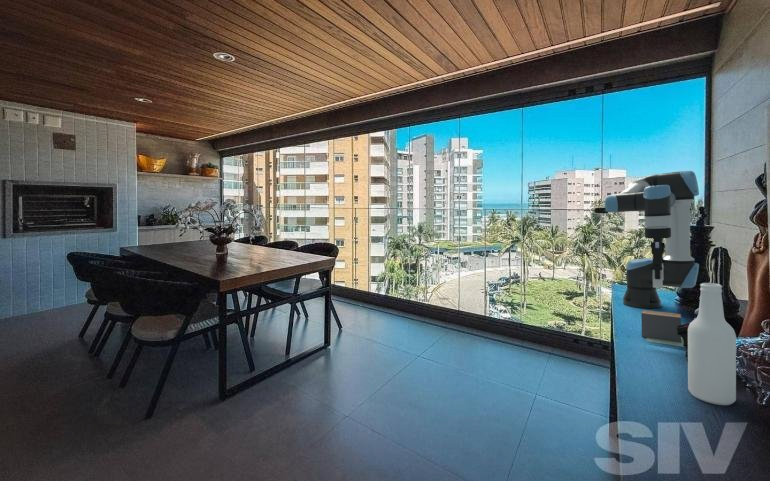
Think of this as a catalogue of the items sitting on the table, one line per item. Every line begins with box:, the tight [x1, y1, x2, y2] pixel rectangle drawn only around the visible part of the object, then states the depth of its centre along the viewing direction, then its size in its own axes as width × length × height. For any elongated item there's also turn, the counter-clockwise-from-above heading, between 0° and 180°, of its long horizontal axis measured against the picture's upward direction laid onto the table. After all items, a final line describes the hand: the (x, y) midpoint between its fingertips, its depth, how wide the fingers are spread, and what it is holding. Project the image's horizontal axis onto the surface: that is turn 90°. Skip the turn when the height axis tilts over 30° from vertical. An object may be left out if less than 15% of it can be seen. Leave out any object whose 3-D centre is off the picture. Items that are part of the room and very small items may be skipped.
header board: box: [645, 337, 685, 350], centre depth 122 cm, size 20×13×5 cm, turn 138°
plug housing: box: [640, 309, 682, 343], centre depth 119 cm, size 5×11×9 cm, turn 48°
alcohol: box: [687, 282, 737, 406], centre depth 83 cm, size 9×9×30 cm
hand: (658, 283), depth 121 cm, fingers open, 13 cm apart
